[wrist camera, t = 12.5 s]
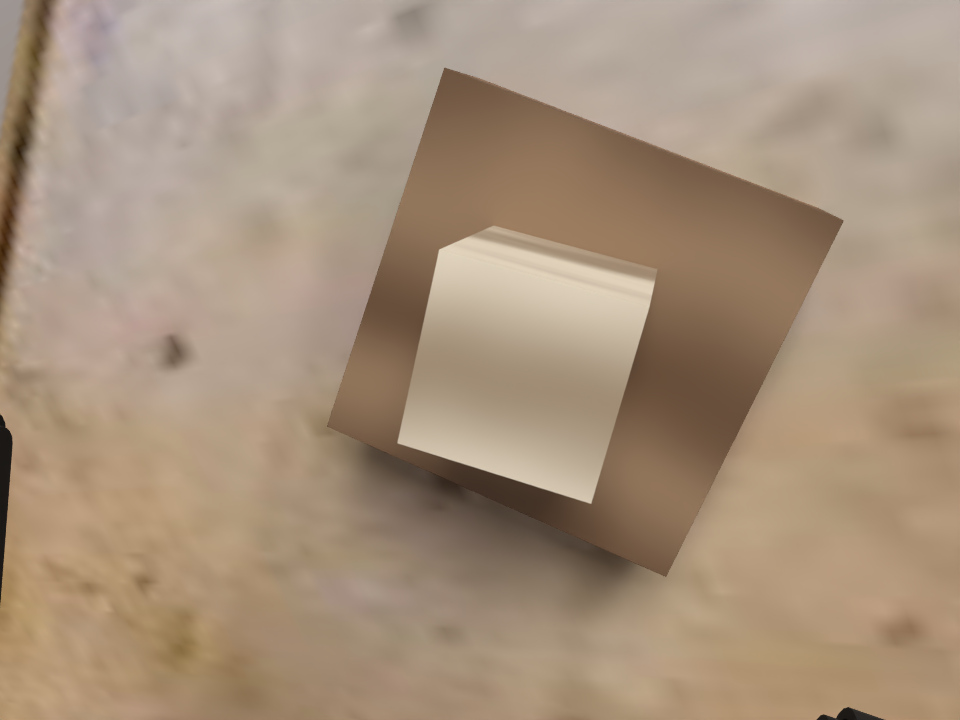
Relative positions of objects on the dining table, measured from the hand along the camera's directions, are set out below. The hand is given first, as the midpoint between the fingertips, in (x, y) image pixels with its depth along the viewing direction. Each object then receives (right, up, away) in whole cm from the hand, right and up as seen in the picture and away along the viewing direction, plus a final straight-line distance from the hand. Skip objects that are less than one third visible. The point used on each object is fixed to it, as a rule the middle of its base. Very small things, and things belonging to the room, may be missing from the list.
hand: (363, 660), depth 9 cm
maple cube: (+4, +4, +17) cm, 18 cm away
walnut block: (+5, +5, +21) cm, 23 cm away
